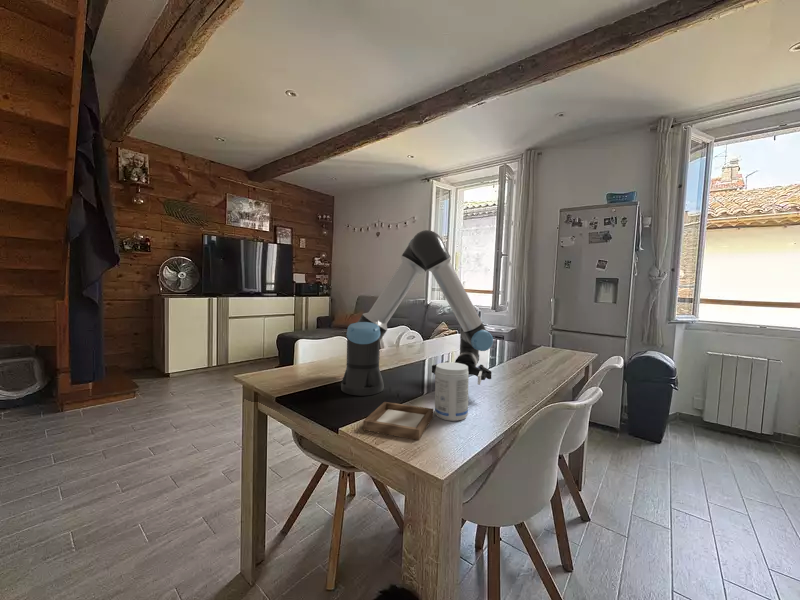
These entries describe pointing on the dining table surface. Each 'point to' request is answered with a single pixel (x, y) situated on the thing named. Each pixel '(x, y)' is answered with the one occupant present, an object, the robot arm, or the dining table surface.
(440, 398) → the supplement tub
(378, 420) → the holder tray
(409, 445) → the dining table surface
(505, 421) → the dining table surface
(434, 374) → the robot arm
